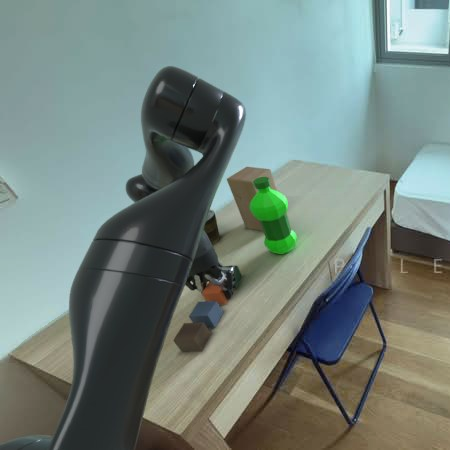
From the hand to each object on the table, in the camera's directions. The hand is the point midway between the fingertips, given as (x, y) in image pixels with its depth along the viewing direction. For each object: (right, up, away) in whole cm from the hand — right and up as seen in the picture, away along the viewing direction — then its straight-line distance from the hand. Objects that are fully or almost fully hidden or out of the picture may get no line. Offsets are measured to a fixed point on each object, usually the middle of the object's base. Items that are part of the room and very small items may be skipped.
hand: (220, 297), depth 83 cm
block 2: (0, -5, -5) cm, 7 cm away
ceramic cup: (-17, +13, +22) cm, 31 cm away
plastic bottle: (+10, +11, +18) cm, 24 cm away
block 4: (0, +3, +6) cm, 7 cm away
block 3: (0, -8, -10) cm, 13 cm away
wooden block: (-1, +20, +31) cm, 37 cm away
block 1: (0, 0, 0) cm, 0 cm away
